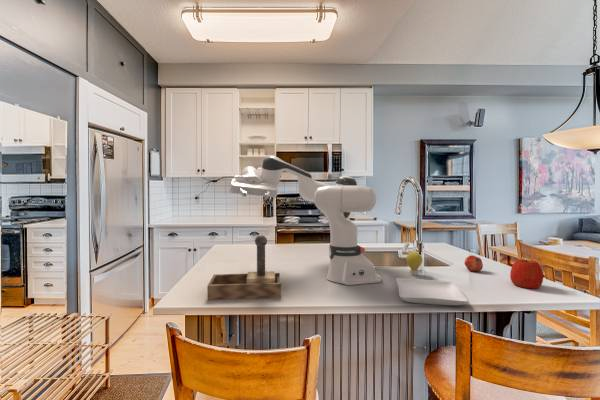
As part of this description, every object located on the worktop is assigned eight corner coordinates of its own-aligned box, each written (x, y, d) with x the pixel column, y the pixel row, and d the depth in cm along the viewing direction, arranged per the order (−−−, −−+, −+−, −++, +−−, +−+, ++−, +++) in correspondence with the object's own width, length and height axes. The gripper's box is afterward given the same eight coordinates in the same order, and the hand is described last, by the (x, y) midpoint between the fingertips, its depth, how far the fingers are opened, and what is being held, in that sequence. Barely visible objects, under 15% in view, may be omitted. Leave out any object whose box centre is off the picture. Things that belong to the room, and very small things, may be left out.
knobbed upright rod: (274, 284, 127) (274, 233, 126) (275, 292, 118) (275, 236, 117) (248, 285, 126) (247, 233, 125) (246, 292, 117) (246, 237, 116)
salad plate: (469, 310, 106) (469, 300, 105) (399, 305, 110) (399, 295, 110) (453, 289, 126) (453, 281, 126) (394, 286, 131) (395, 277, 130)
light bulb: (406, 276, 143) (406, 253, 143) (405, 272, 150) (405, 250, 149) (422, 277, 142) (423, 254, 141) (421, 273, 148) (421, 251, 148)
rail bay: (279, 285, 130) (279, 272, 130) (280, 297, 116) (280, 283, 116) (214, 287, 128) (214, 274, 127) (207, 300, 114) (207, 285, 113)
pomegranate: (461, 274, 155) (469, 265, 147) (460, 259, 159) (467, 250, 151) (478, 276, 154) (487, 268, 146) (477, 262, 158) (485, 253, 150)
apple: (541, 284, 132) (542, 258, 132) (544, 292, 123) (546, 263, 122) (509, 280, 138) (510, 254, 137) (510, 287, 128) (511, 260, 128)
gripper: (273, 192, 154) (278, 205, 142) (228, 188, 149) (230, 200, 136) (275, 180, 152) (281, 191, 140) (230, 175, 146) (232, 186, 134)
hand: (255, 196), depth 138 cm, fingers open, 8 cm apart
